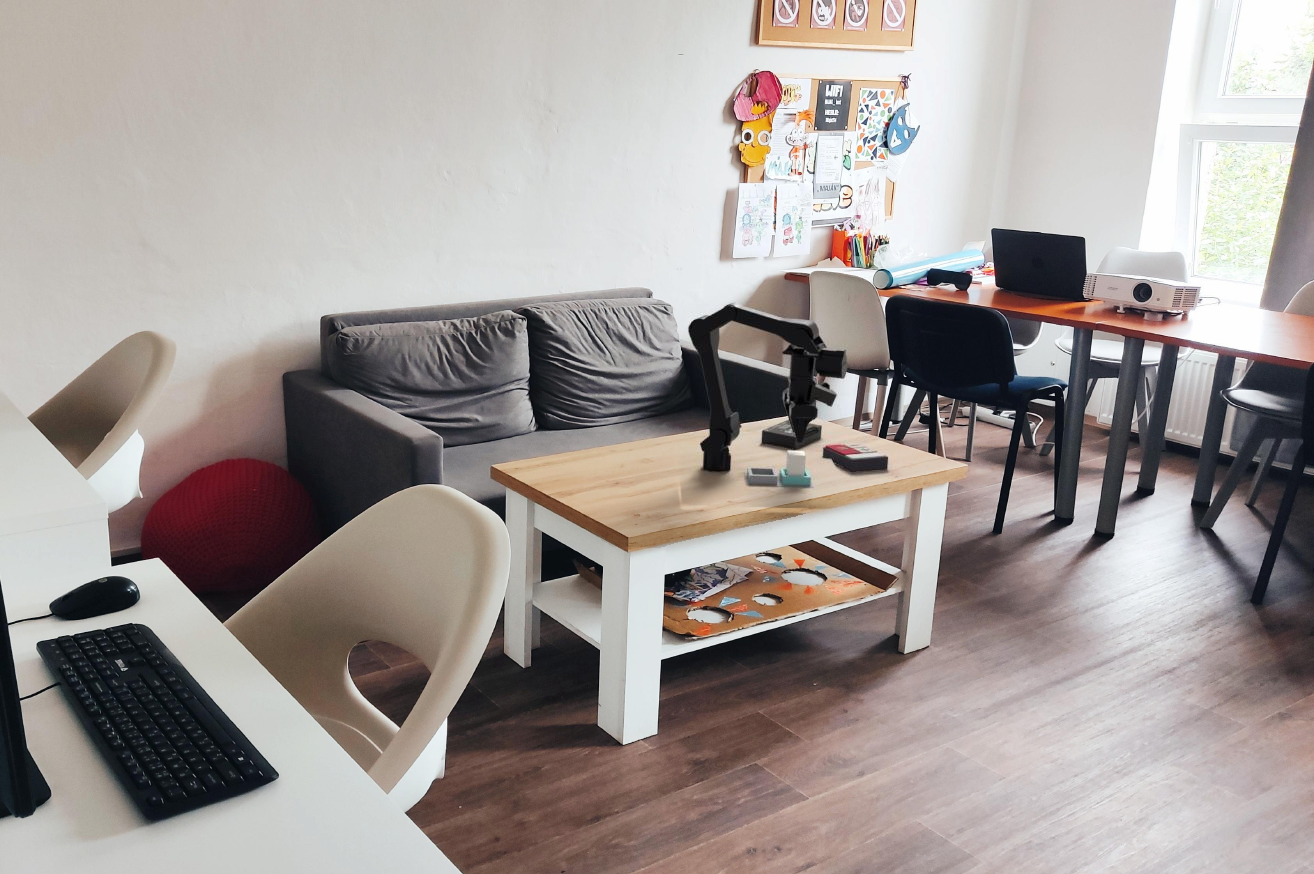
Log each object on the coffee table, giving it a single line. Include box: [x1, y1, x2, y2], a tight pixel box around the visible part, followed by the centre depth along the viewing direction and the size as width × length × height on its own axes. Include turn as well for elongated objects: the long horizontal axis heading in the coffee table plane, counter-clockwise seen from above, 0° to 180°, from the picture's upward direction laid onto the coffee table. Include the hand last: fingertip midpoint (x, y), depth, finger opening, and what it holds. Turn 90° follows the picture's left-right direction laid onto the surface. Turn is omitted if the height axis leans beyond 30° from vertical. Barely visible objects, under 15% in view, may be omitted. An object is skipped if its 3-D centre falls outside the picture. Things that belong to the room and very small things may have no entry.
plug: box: [785, 450, 807, 476], centre depth 265 cm, size 4×4×7 cm
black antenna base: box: [760, 419, 823, 451], centre depth 305 cm, size 20×14×17 cm
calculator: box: [822, 442, 889, 474], centre depth 286 cm, size 11×4×15 cm
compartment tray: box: [744, 466, 814, 489], centre depth 266 cm, size 16×10×3 cm, turn 90°
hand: (797, 437), depth 263 cm, fingers open, 9 cm apart
